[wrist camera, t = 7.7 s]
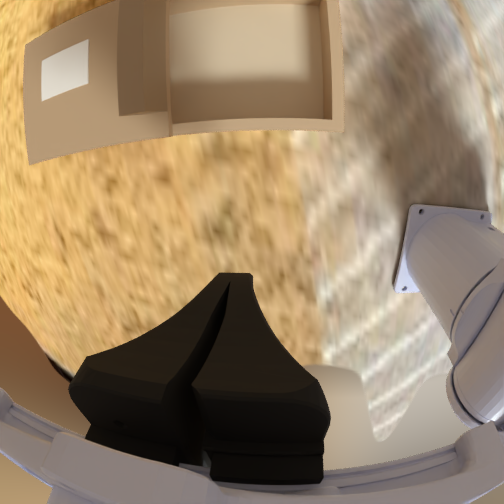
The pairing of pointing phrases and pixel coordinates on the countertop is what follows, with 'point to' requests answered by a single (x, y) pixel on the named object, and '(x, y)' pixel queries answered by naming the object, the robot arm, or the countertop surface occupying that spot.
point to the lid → (98, 80)
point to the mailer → (255, 65)
